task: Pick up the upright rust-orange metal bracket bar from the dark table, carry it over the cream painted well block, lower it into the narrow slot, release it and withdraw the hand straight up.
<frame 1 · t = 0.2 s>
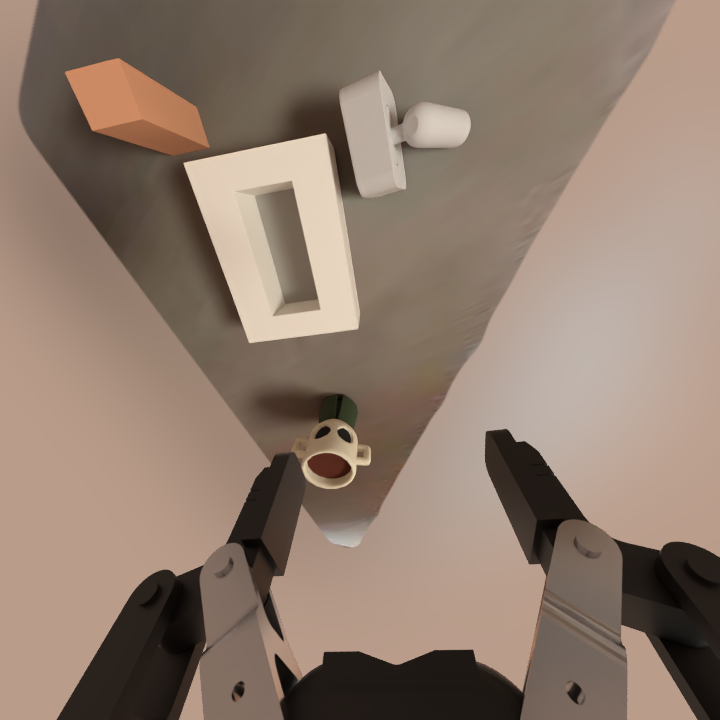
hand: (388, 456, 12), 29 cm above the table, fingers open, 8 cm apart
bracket: (184, 132, 30), on the table
character mug: (339, 407, 47), on the table
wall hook: (407, 145, 30), on the table
well block: (295, 250, 35), on the table
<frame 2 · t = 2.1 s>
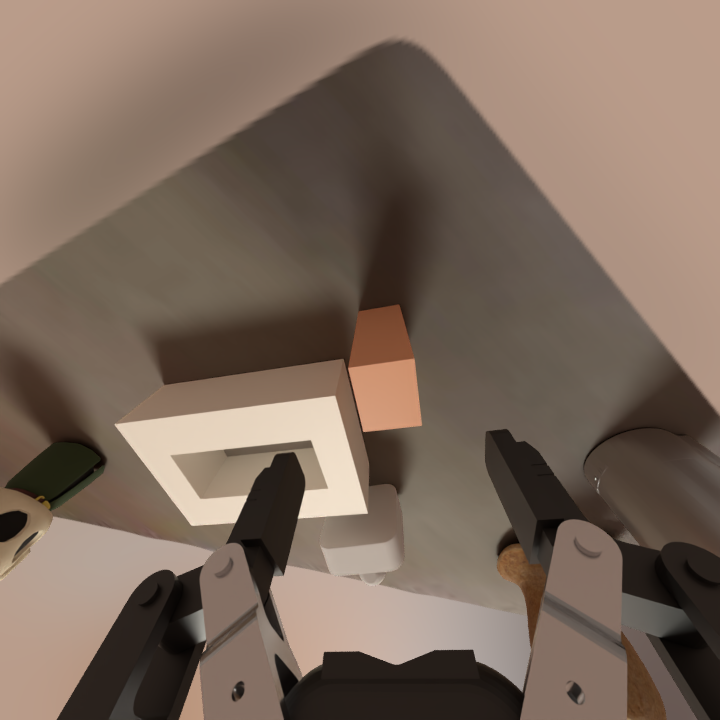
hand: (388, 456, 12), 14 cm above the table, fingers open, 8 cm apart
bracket: (382, 332, 24), on the table
brown boot-shaped piece: (548, 553, 38), on the table
character mug: (83, 454, 34), on the table
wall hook: (372, 505, 36), on the table
well block: (273, 427, 30), on the table
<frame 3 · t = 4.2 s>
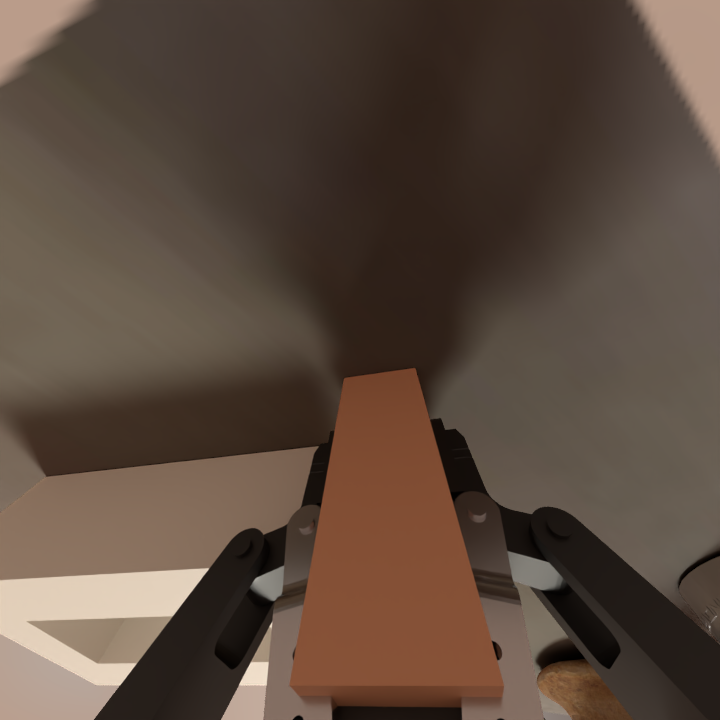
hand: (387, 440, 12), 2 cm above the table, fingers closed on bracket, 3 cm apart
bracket: (385, 409, 14), on the table, touching gripper
brown boot-shaped piece: (604, 661, 29), on the table
well block: (221, 529, 20), on the table
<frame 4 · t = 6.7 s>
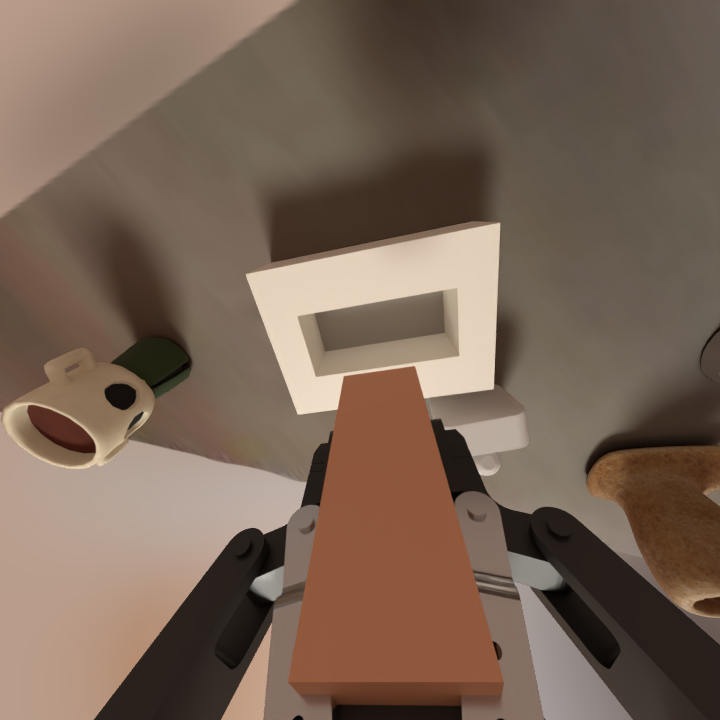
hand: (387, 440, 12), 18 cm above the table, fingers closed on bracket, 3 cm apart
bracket: (385, 407, 14), point 16 cm above the table, touching gripper
brown boot-shaped piece: (638, 468, 37), on the table
character mug: (167, 358, 32), on the table
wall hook: (464, 414, 34), on the table
well block: (378, 314, 28), on the table
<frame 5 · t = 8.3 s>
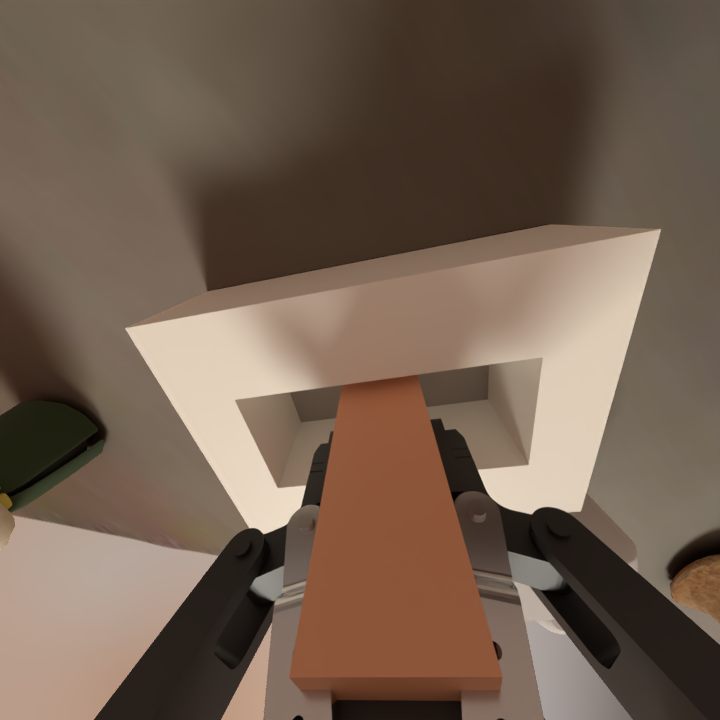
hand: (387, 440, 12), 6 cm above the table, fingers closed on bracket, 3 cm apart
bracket: (385, 407, 14), point 4 cm above the table, touching gripper
character mug: (71, 424, 22), on the table
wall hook: (504, 500, 24), on the table
well block: (383, 370, 18), on the table
when the fingers open (5 cm above the table, at t = 9.4 s): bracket drops 2 cm, resting on well block.
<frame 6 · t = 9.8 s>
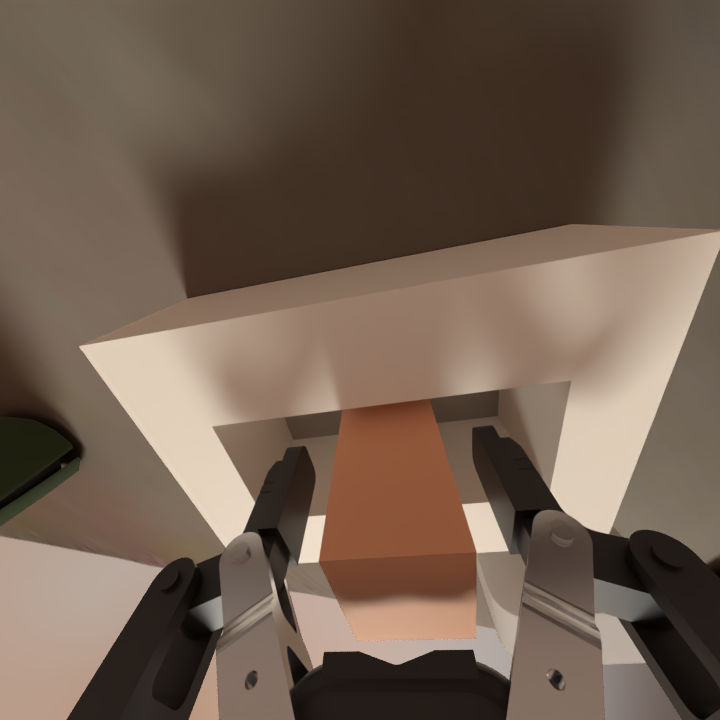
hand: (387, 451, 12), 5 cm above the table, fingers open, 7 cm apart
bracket: (387, 388, 16), point 1 cm above the table, touching well block
character mug: (45, 440, 20), on the table
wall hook: (512, 519, 22), on the table
well block: (383, 384, 16), on the table
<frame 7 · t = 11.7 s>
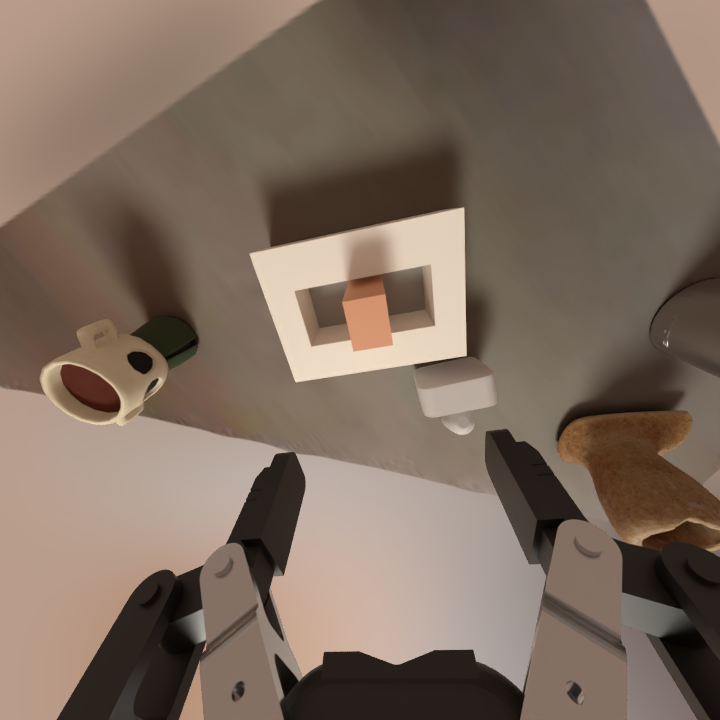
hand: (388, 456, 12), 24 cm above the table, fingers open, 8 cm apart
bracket: (368, 293, 31), point 1 cm above the table, touching well block
brown boot-shaped piece: (603, 435, 41), on the table
character mug: (176, 336, 36), on the table
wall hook: (445, 386, 38), on the table
well block: (366, 293, 32), on the table
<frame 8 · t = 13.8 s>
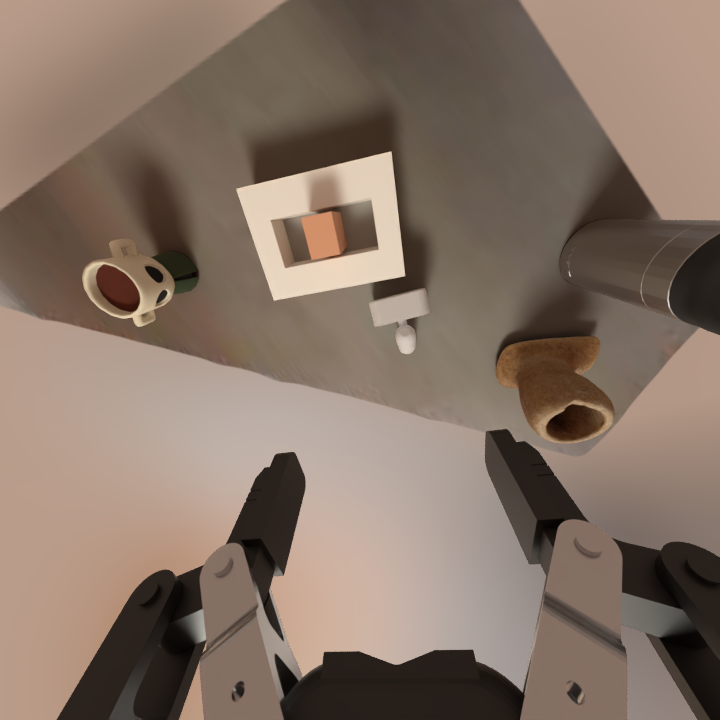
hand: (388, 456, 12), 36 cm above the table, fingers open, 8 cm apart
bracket: (332, 232, 40), point 1 cm above the table, touching well block
brown boot-shaped piece: (535, 364, 49), on the table
character mug: (181, 271, 44), on the table
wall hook: (400, 317, 46), on the table
well block: (331, 232, 40), on the table
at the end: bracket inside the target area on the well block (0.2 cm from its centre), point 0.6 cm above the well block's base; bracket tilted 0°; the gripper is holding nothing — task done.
